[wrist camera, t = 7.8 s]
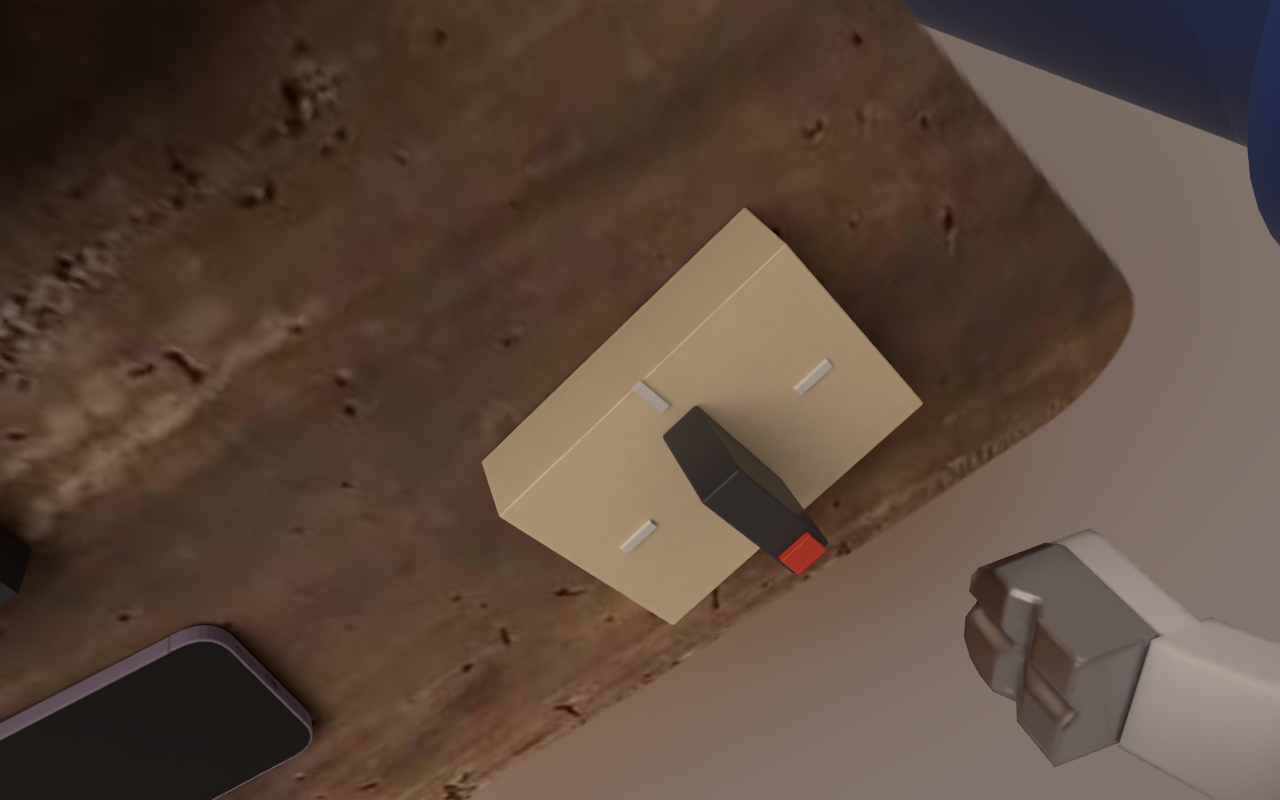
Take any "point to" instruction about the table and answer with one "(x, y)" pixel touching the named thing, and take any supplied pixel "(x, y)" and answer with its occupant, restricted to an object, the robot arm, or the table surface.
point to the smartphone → (156, 727)
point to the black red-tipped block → (744, 491)
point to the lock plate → (725, 390)
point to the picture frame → (11, 565)
